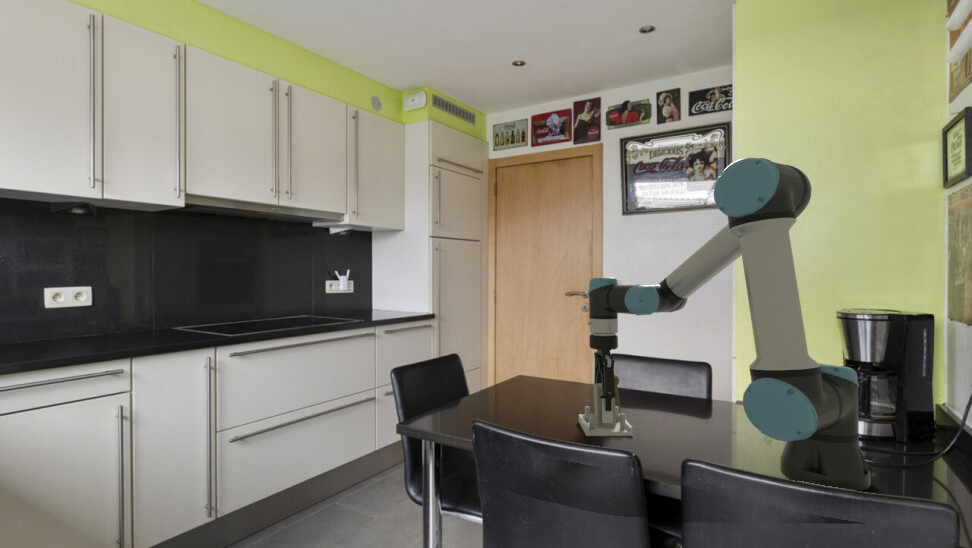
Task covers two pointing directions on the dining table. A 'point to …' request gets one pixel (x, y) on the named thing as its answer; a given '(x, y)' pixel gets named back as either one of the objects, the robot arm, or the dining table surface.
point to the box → (598, 407)
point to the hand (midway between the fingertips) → (604, 417)
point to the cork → (616, 392)
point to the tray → (592, 430)
